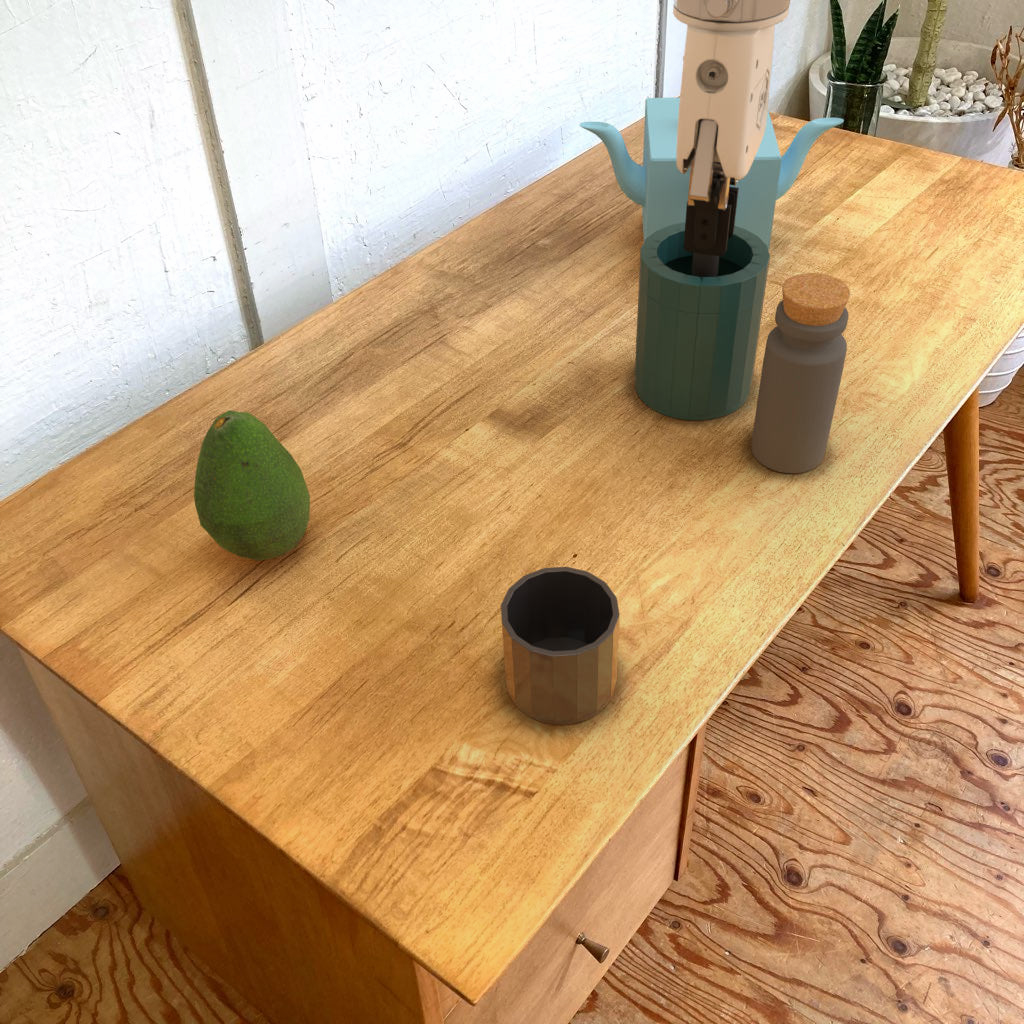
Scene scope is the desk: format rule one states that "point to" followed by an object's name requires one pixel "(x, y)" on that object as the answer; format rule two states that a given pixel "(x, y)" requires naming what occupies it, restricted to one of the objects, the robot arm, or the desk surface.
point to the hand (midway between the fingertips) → (708, 241)
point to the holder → (560, 644)
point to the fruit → (249, 489)
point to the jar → (698, 325)
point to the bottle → (801, 374)
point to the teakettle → (668, 187)
